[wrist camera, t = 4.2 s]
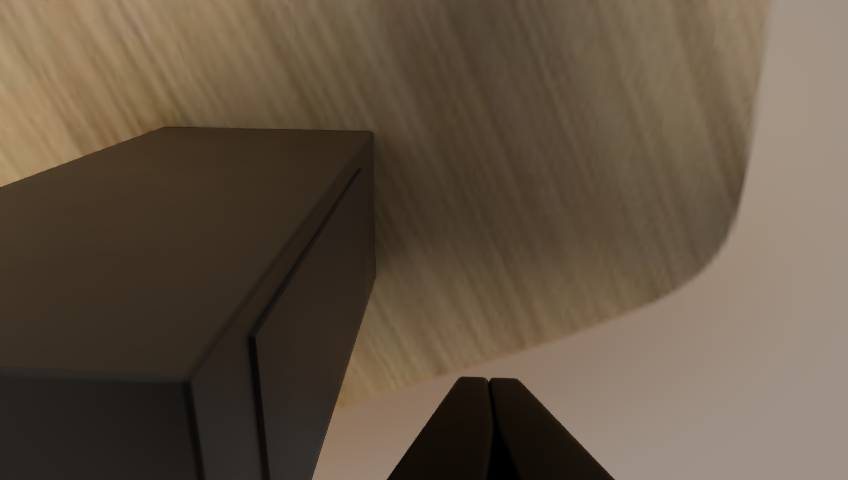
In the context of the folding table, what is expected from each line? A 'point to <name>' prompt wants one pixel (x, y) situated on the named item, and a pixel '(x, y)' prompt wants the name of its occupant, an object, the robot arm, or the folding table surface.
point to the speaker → (183, 304)
